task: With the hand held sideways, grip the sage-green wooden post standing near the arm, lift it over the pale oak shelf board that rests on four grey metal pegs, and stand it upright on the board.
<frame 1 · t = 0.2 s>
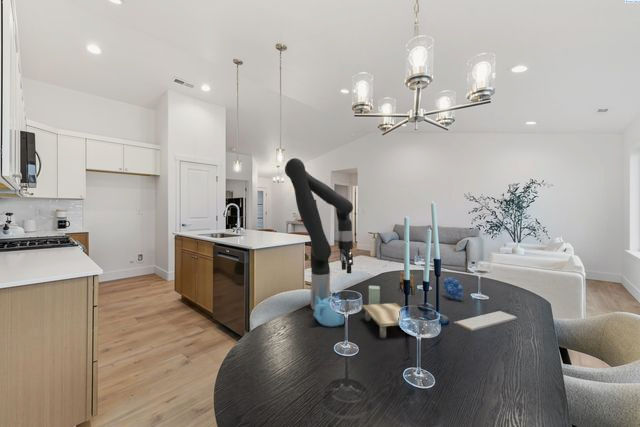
hand: (346, 271, 137), 17 cm above the table, tool pointing down, fingers open, 8 cm apart
sage post: (374, 312, 128), on the table
teapot: (332, 321, 118), on the table
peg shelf: (388, 326, 113), on the table
ammunition clip: (406, 292, 160), on the table
baseboard: (484, 321, 120), on the table
grapes: (451, 299, 147), on the table
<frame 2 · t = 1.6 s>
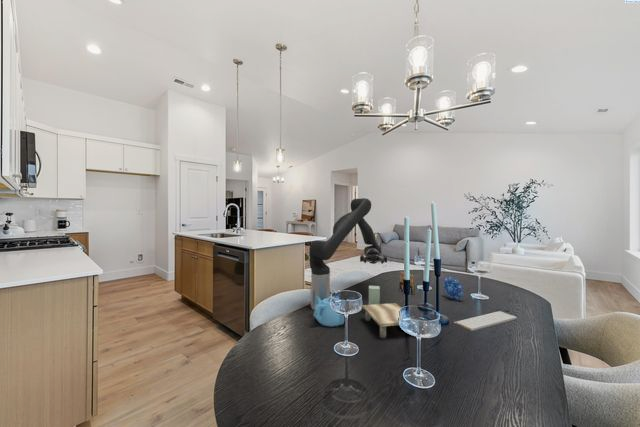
hand: (373, 261, 139), 22 cm above the table, tool horizontal, fingers open, 8 cm apart
nothing on the table moved.
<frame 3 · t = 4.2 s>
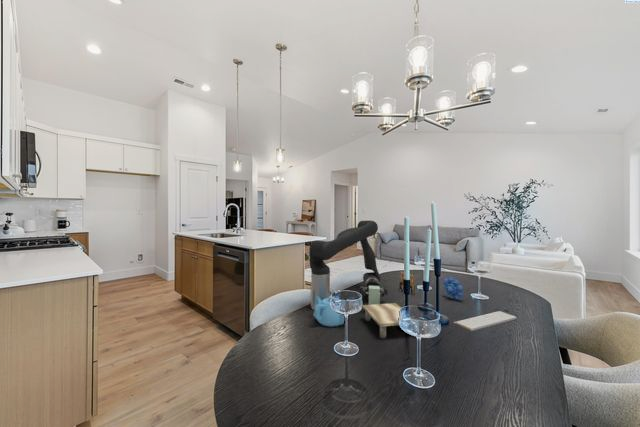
hand: (373, 294, 134), 7 cm above the table, tool horizontal, fingers open, 8 cm apart
nothing on the table moved.
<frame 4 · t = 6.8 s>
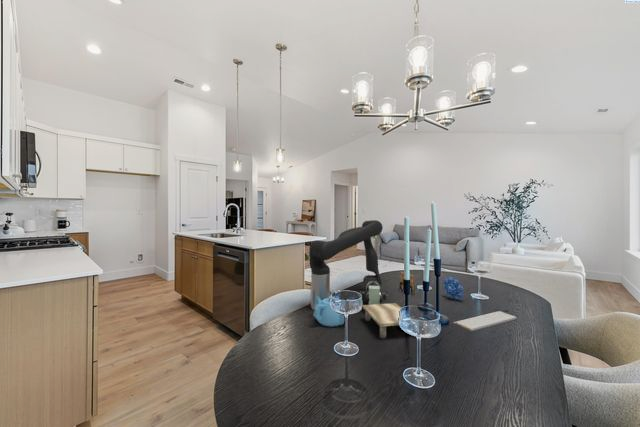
hand: (374, 300, 126), 7 cm above the table, tool horizontal, fingers closed on sage post, 5 cm apart
sage post: (374, 312, 128), on the table, touching gripper
everything else where it was.
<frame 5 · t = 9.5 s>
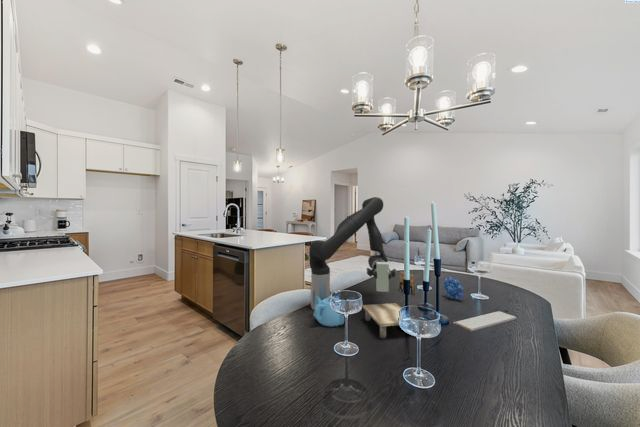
hand: (382, 276, 117), 20 cm above the table, tool horizontal, fingers closed on sage post, 5 cm apart
sage post: (382, 289, 120), point 13 cm above the table, touching gripper
everything else where it was.
when the fingers open (14 cm above the table, at t = 12.3 s): sage post drops 1 cm, resting on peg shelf.
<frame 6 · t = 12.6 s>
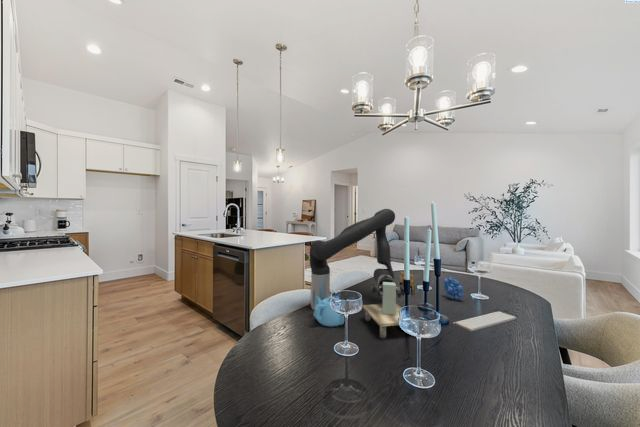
hand: (389, 294, 110), 14 cm above the table, tool horizontal, fingers open, 7 cm apart
sage post: (388, 312, 112), point 6 cm above the table, touching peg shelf
everything else where it was.
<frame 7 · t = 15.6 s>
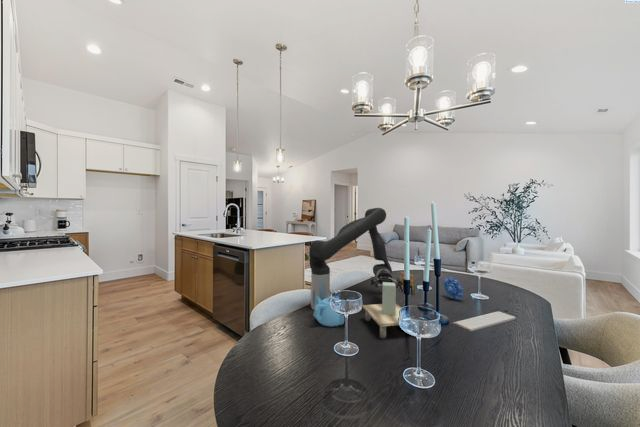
hand: (386, 286, 123), 14 cm above the table, tool horizontal, fingers open, 8 cm apart
nothing on the table moved.
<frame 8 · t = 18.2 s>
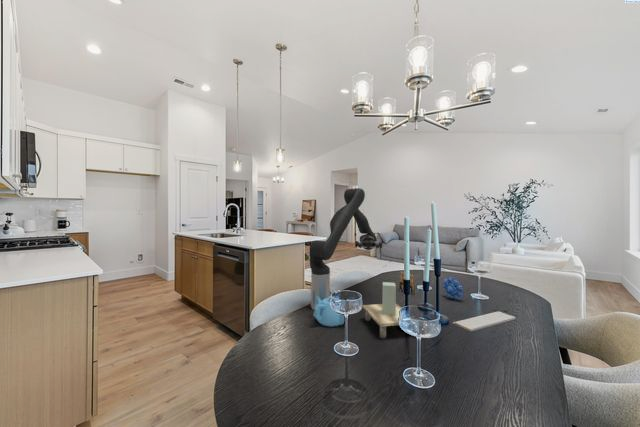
hand: (368, 246, 139), 30 cm above the table, tool horizontal, fingers open, 8 cm apart
nothing on the table moved.
at the end: sage post inside the target area on the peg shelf (0.0 cm from its centre), point 6.0 cm above the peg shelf's base; sage post tilted 0°; the gripper is holding nothing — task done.
